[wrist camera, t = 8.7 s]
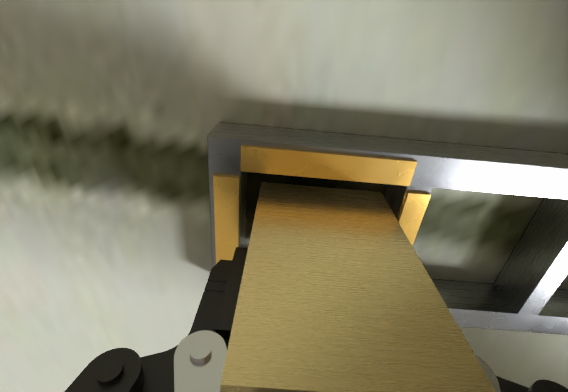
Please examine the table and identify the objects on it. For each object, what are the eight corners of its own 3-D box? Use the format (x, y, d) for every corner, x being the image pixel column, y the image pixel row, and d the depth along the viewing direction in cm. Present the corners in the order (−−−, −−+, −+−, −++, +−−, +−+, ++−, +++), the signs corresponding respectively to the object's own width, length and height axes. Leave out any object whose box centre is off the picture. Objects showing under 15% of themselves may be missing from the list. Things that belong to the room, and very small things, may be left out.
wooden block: (381, 192, 12) (503, 404, 5) (356, 280, 15) (417, 507, 8) (261, 181, 12) (220, 384, 5) (256, 272, 14) (223, 495, 7)
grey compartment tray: (763, 171, 13) (844, 195, 11) (630, 311, 17) (671, 345, 15) (219, 122, 12) (206, 137, 10) (222, 278, 17) (213, 309, 15)
